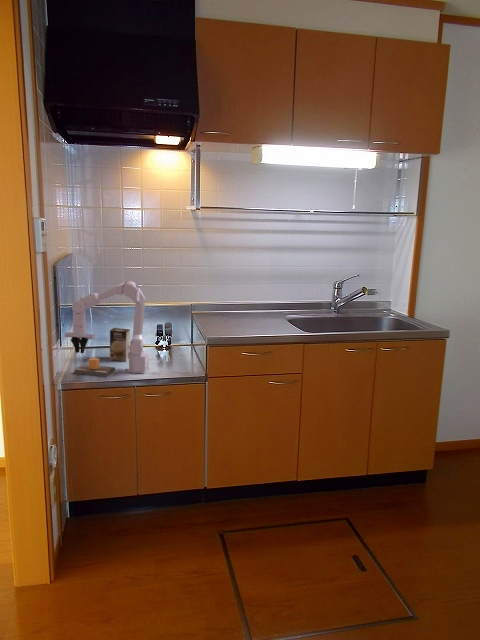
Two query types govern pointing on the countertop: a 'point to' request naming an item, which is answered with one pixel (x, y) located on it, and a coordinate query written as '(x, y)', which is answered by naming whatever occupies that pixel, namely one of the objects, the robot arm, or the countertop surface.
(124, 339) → the coffee box
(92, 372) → the switch panel
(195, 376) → the countertop surface
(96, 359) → the knob
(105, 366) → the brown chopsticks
